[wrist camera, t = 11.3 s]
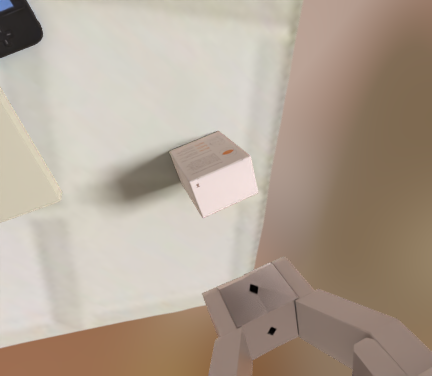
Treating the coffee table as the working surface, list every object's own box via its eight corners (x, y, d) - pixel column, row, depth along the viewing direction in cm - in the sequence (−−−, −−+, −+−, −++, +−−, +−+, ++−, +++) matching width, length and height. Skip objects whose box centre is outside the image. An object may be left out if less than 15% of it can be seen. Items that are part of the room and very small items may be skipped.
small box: (180, 182, 45) (201, 220, 37) (167, 150, 42) (187, 182, 34) (228, 162, 47) (260, 194, 38) (219, 129, 44) (251, 155, 35)
